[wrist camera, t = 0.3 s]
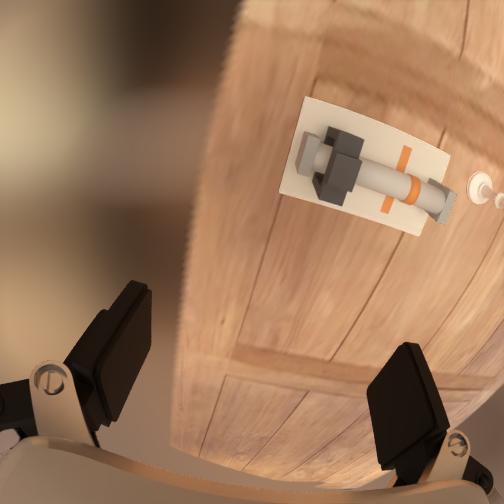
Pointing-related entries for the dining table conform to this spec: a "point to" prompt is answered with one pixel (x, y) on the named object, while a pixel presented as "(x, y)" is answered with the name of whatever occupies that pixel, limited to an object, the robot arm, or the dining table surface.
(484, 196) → the chess piece
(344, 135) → the dark grey notched block
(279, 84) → the dining table surface
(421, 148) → the rail
